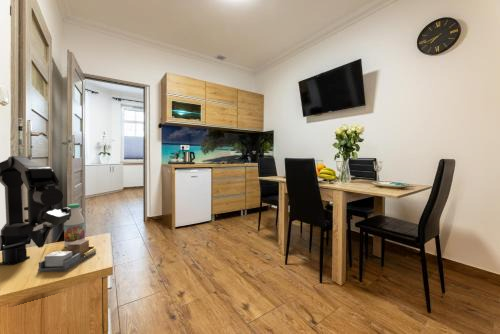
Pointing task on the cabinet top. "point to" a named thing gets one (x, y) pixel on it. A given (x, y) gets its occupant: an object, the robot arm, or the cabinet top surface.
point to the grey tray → (67, 262)
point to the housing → (79, 247)
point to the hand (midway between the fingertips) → (40, 247)
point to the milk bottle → (74, 226)
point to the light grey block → (57, 258)
